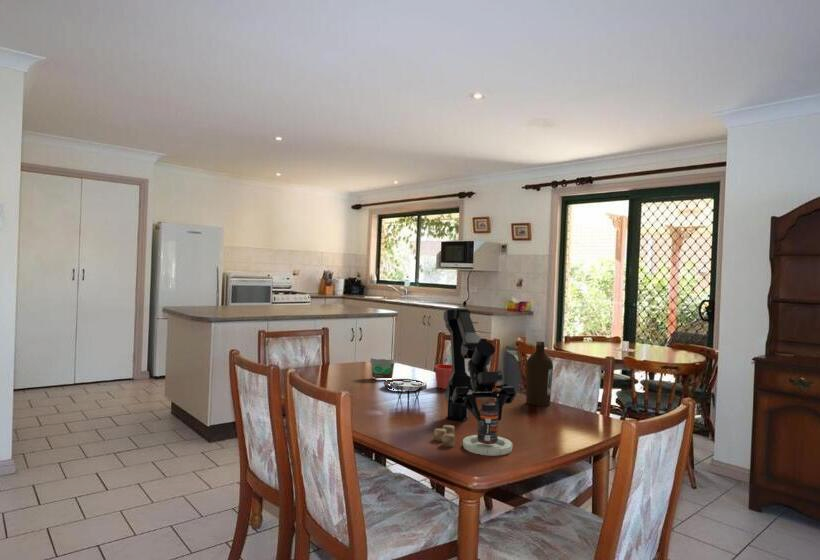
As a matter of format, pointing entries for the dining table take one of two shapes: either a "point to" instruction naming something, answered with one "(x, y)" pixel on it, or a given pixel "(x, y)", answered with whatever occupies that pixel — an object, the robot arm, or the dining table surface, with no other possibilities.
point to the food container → (382, 368)
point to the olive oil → (539, 377)
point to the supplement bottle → (488, 424)
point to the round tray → (487, 446)
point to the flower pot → (443, 375)
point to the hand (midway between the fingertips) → (489, 420)
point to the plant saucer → (396, 380)
